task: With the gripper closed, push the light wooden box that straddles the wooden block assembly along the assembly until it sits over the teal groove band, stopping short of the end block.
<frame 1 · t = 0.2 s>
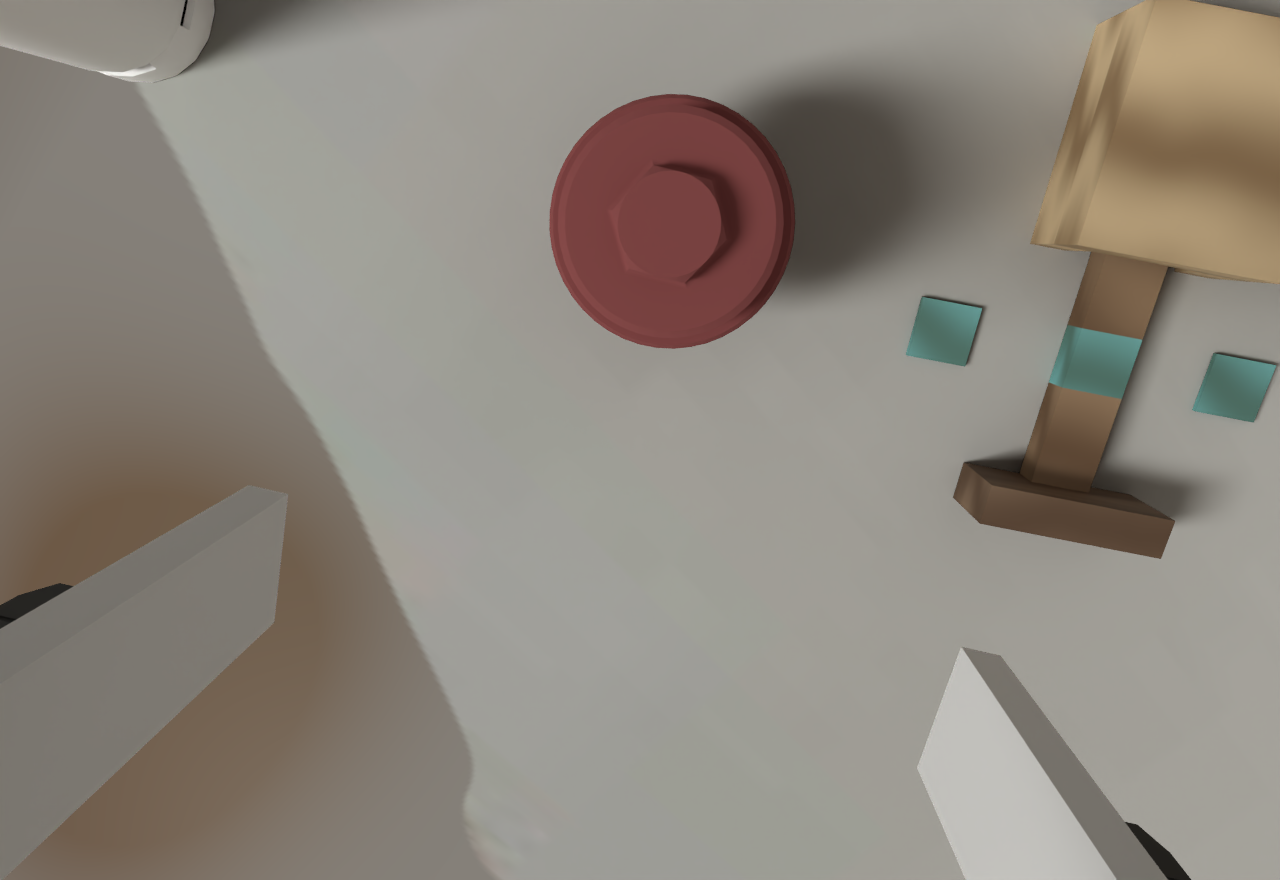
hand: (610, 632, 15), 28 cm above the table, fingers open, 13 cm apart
light wooden box: (1153, 156, 38), resting in wooden block assembly
wooden block assembly: (1113, 281, 40), on the table
mechanical component: (673, 227, 40), on the table
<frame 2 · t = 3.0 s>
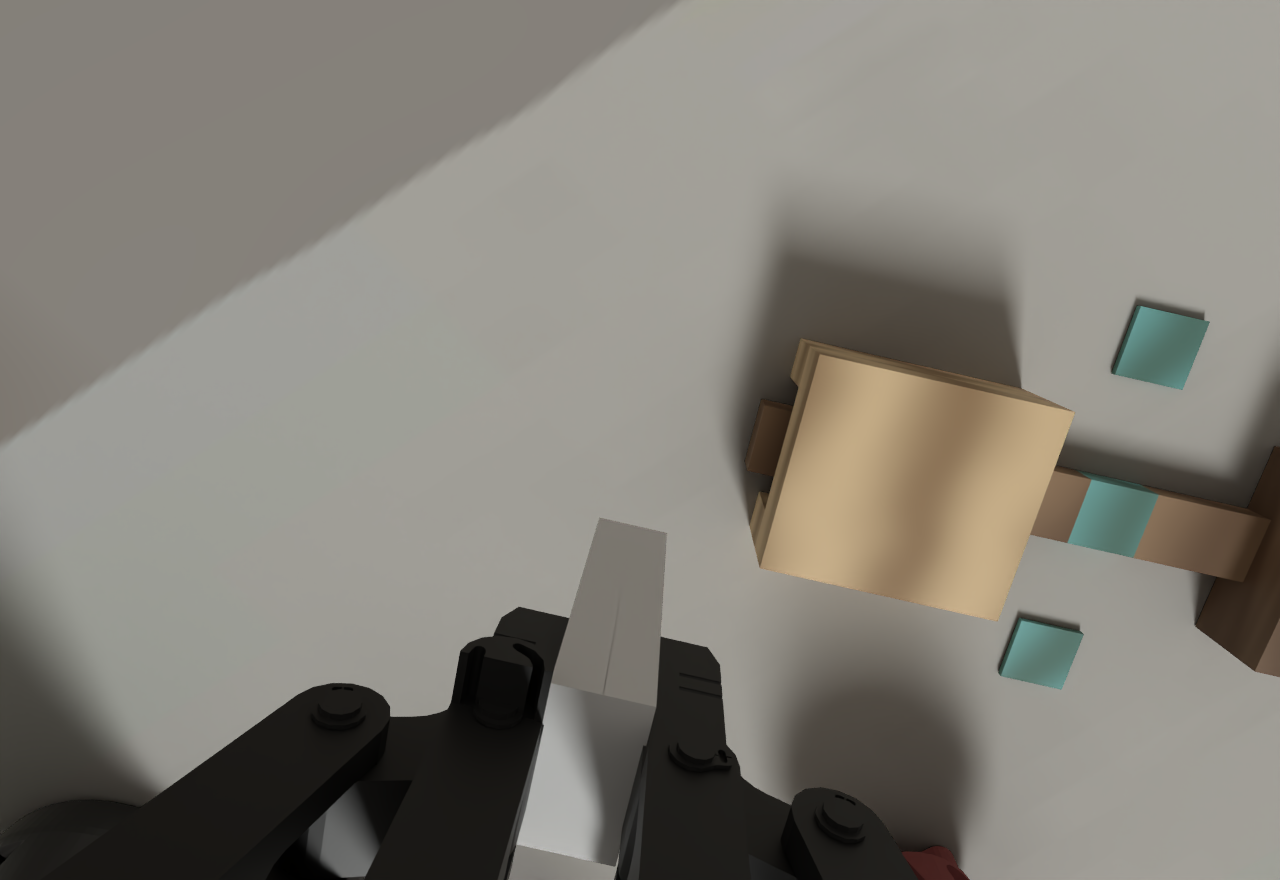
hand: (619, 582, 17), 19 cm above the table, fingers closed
light wooden box: (880, 458, 36), resting in wooden block assembly
wooden block assembly: (1010, 488, 36), on the table
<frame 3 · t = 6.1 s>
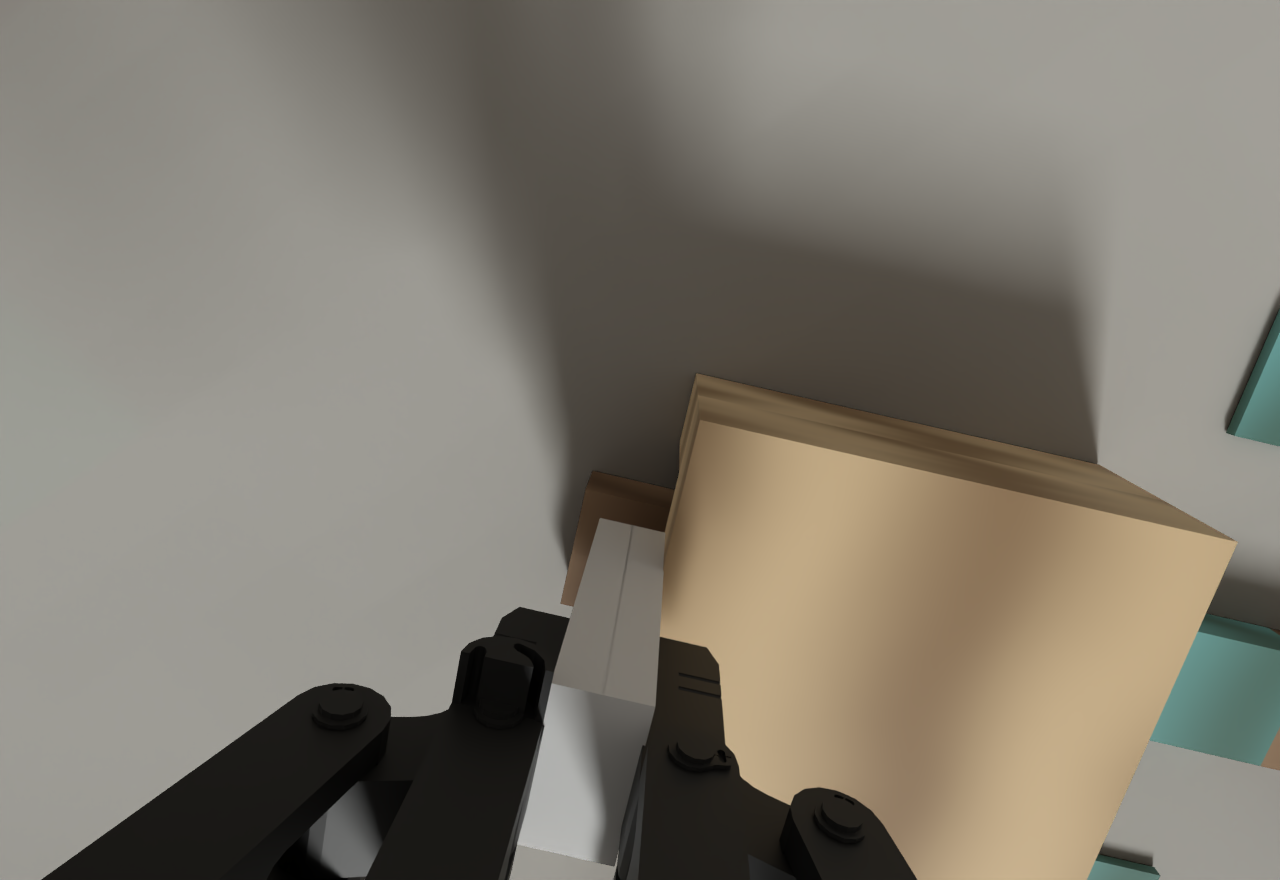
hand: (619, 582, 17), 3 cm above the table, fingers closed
light wooden box: (845, 585, 20), resting in wooden block assembly, touching gripper
wooden block assembly: (1036, 631, 20), on the table
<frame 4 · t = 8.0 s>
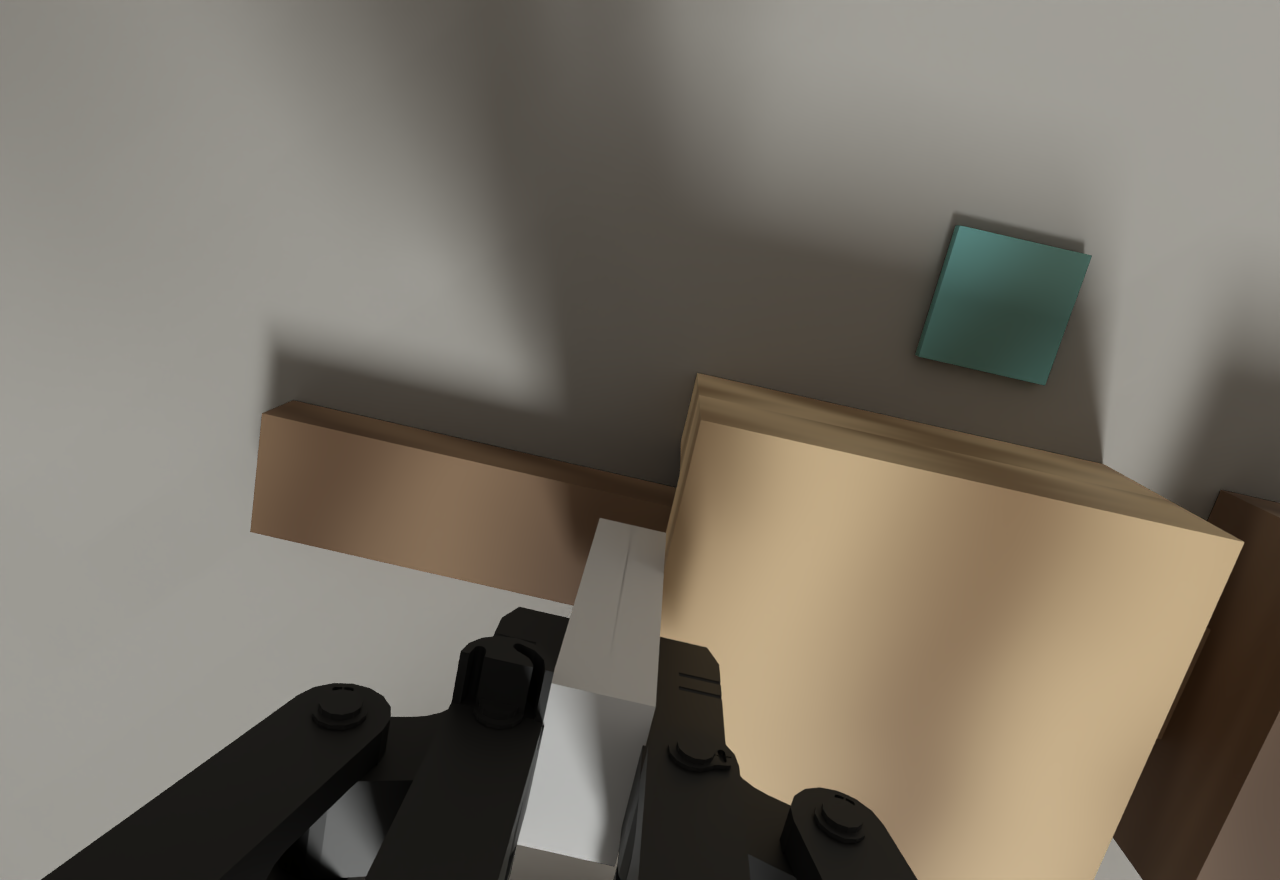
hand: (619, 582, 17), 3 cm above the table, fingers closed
light wooden box: (848, 586, 20), resting in wooden block assembly, touching gripper
wooden block assembly: (747, 561, 20), on the table
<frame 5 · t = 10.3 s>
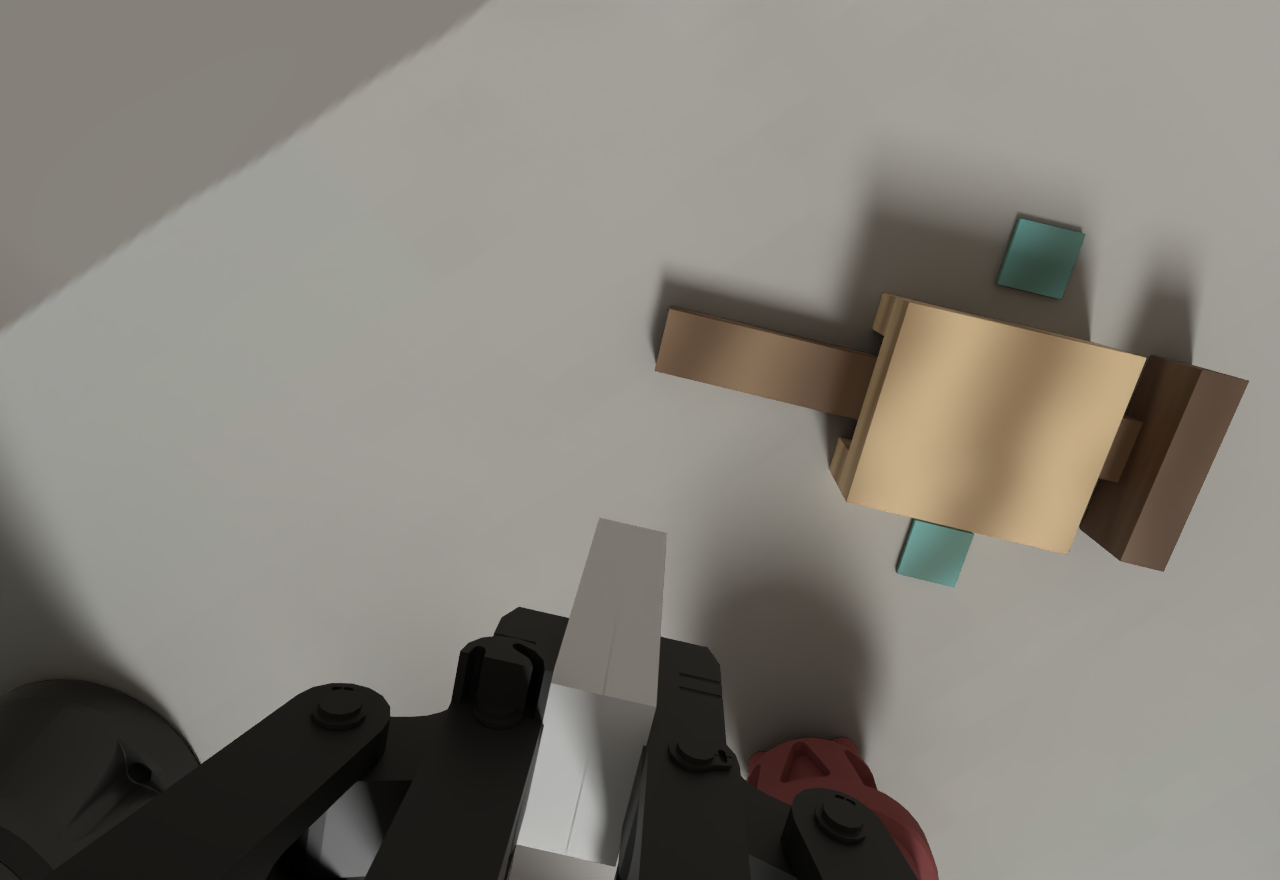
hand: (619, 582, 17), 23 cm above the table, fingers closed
light wooden box: (954, 407, 39), resting in wooden block assembly
wooden block assembly: (903, 393, 39), on the table
mechanical component: (805, 771, 45), on the table
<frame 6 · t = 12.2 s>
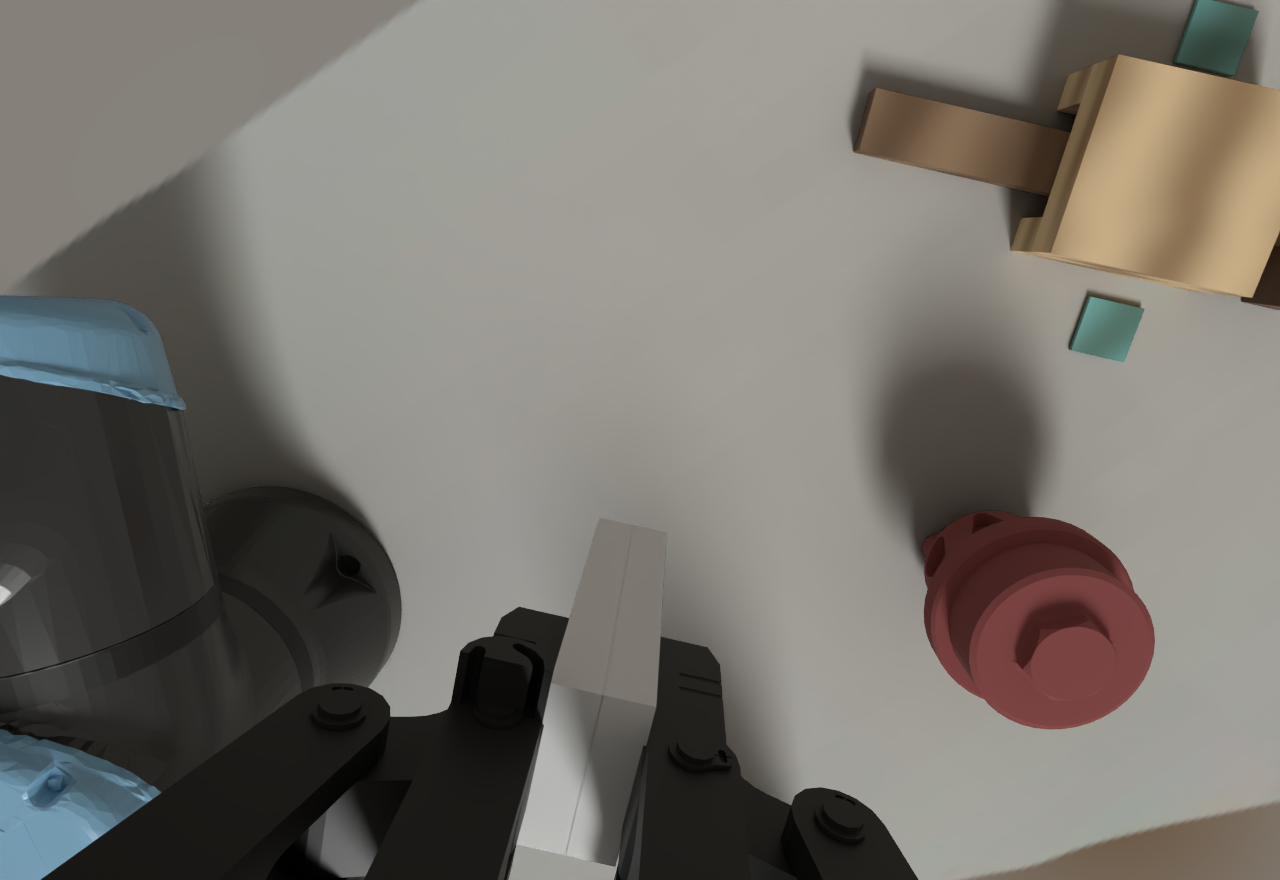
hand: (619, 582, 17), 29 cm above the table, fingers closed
light wooden box: (1129, 185, 42), resting in wooden block assembly
wooden block assembly: (1082, 173, 42), on the table
mechanical component: (974, 554, 48), on the table
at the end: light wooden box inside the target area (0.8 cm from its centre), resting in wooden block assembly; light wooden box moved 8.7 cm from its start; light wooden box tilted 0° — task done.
